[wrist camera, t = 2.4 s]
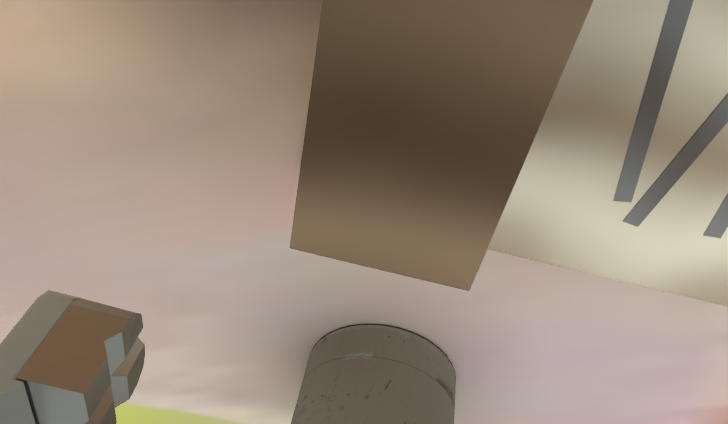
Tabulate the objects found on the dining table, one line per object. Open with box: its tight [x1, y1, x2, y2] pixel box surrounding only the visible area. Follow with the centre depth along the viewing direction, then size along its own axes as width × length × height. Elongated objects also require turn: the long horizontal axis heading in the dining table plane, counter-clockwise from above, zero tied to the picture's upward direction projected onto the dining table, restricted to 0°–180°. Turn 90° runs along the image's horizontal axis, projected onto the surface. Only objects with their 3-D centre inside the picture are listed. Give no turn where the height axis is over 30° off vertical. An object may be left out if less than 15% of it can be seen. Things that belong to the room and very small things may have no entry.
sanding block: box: [290, 0, 594, 291], centre depth 17 cm, size 9×6×5 cm, turn 170°
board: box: [487, 0, 728, 306], centre depth 20 cm, size 14×19×2 cm
